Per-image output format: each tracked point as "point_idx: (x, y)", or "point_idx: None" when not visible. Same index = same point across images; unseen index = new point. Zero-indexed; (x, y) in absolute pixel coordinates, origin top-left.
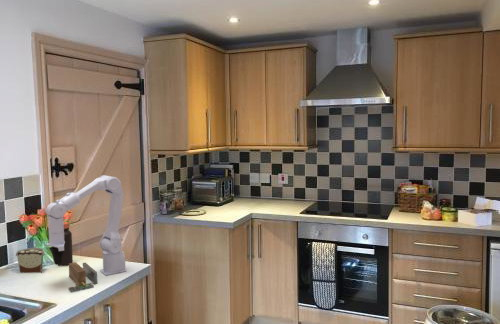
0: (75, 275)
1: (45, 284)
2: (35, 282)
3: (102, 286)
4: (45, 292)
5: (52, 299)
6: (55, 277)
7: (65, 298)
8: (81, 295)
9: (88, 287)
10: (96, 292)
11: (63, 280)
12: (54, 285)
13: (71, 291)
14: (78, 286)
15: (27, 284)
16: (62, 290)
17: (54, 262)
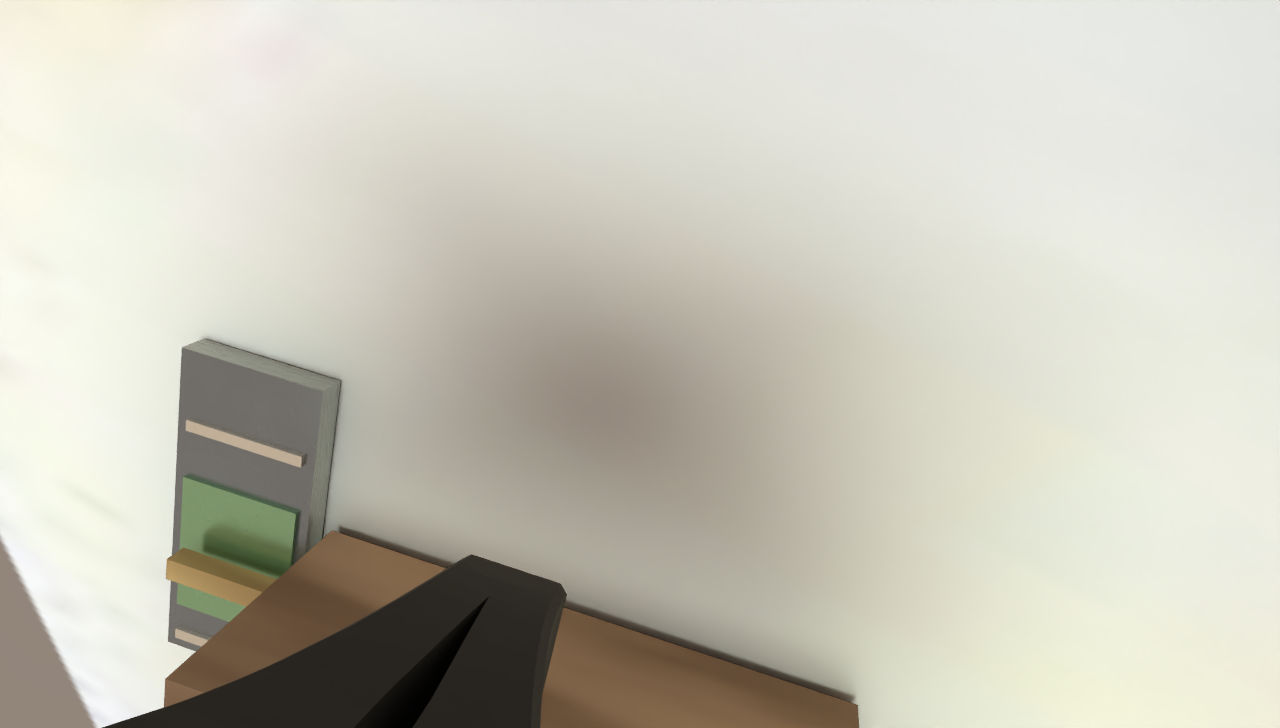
0: None
1: (891, 276)
2: (1200, 205)
3: (153, 698)
4: (495, 73)
5: (122, 3)
6: (1085, 580)
7: (46, 164)
8: (24, 368)
9: None
10: (11, 538)
11: (801, 567)
12: (698, 350)
13: (193, 350)
14: (256, 504)
15: (1254, 26)
16: (377, 308)
17: (516, 594)
